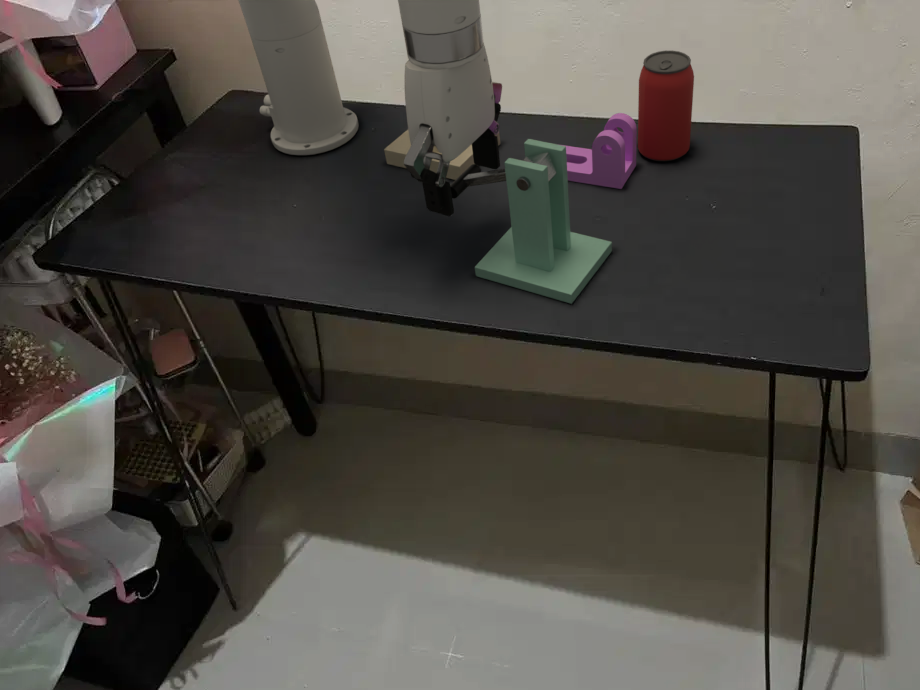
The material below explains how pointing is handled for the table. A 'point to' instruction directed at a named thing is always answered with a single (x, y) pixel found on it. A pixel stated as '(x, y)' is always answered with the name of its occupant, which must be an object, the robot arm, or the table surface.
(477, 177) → the lever
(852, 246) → the table surface
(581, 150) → the bracket
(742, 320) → the table surface
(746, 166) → the table surface
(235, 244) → the table surface
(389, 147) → the control block
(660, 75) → the beer can
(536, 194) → the bracket
